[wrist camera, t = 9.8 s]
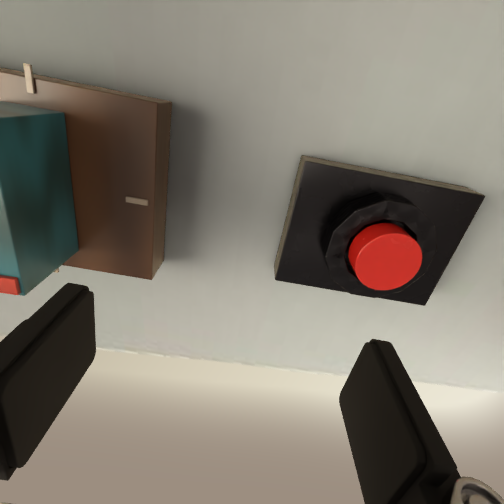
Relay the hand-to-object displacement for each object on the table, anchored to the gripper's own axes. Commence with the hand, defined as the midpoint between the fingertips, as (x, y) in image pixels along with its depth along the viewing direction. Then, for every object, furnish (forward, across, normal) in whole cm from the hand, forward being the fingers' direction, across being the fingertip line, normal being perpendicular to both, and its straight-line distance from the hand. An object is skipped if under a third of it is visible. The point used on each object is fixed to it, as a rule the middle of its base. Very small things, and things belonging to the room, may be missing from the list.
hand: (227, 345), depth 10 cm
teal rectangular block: (+11, +13, 0) cm, 17 cm away
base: (+14, +13, 0) cm, 19 cm away
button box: (+14, -9, 0) cm, 17 cm away
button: (+10, -9, 0) cm, 14 cm away
